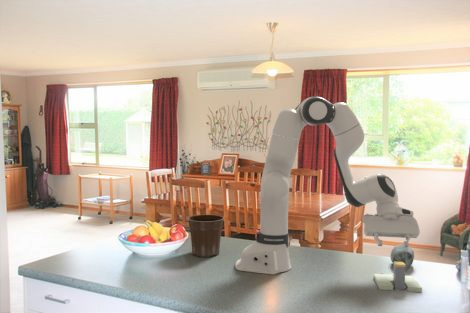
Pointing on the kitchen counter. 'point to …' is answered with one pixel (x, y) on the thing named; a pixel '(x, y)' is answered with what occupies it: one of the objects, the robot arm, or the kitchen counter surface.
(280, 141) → the robot arm
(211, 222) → the plant pot
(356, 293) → the kitchen counter surface
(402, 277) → the grey and yellow block
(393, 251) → the grey oval lump
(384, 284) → the notched board
